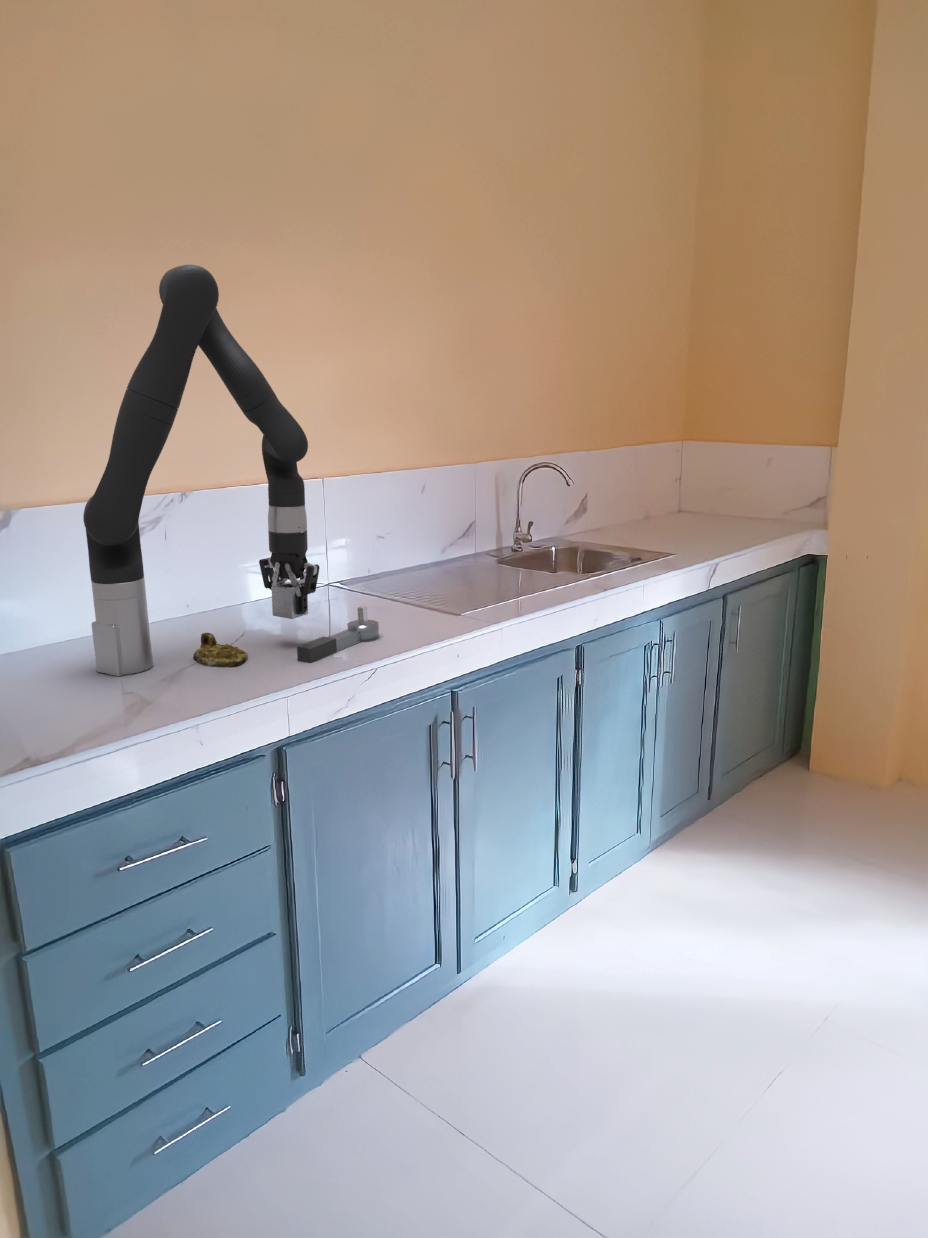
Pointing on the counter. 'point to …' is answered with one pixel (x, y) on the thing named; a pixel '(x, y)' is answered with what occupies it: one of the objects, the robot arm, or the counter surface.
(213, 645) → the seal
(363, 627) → the ratchet
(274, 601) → the hollow square tube
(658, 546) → the counter surface
